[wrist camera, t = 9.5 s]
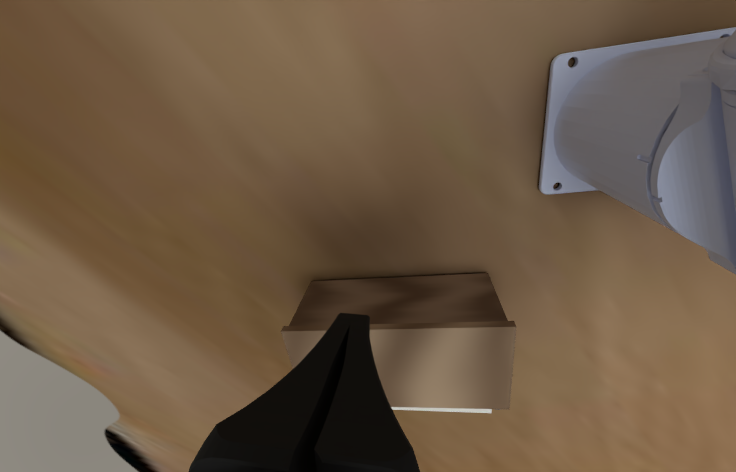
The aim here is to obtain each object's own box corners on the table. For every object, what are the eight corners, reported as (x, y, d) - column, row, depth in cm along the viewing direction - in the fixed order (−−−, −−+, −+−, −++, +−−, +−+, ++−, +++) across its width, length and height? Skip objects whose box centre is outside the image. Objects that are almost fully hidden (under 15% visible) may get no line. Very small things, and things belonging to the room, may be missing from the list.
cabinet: (492, 271, 24) (516, 326, 18) (489, 343, 26) (509, 409, 21) (307, 280, 26) (280, 331, 21) (324, 345, 29) (304, 405, 24)
